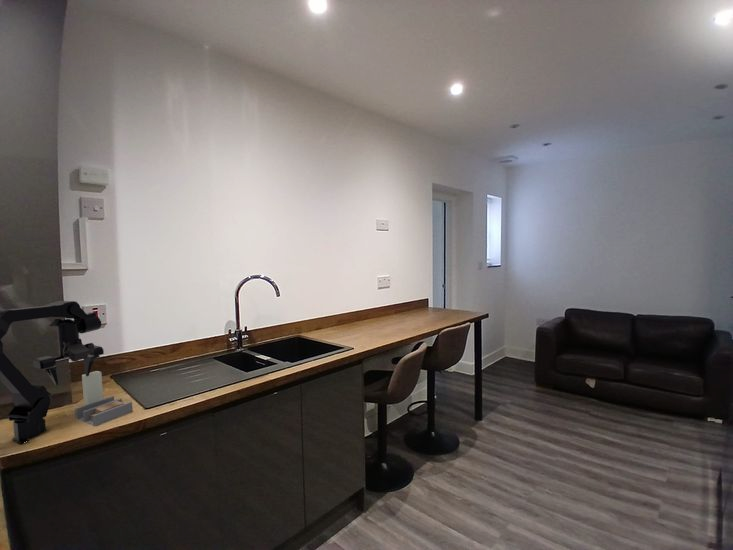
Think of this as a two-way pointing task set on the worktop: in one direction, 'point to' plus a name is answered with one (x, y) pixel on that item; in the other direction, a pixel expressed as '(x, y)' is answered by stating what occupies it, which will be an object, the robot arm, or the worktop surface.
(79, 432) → the worktop surface
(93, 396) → the pale upright slab
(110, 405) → the offcuts
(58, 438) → the worktop surface
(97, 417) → the rack
